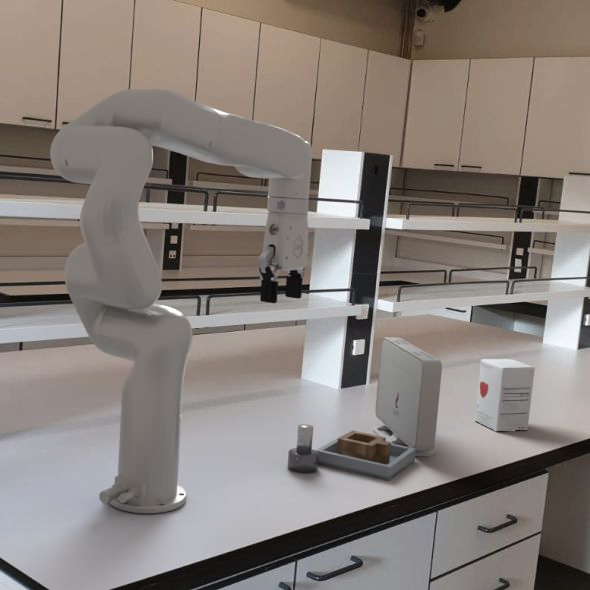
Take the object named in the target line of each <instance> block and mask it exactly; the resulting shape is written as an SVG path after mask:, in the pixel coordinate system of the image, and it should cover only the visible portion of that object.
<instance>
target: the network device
mask: <svg viewBox="0 0 590 590" xmlns="http://www.w3.org/2000/svg"><path fill="white" fill-rule="evenodd" d="M380 343H381V344H380V354H379V363H378V364H379V365H378V377H377V386H376V387H377V388H376V399H375V401H376V402H375V417H376V419H378V420H379V421H380V422H381V423H382V424H383V425H376V426H373V427H372V432H373V434H374V435H377V436H382V437H386V441H388V442H391V444H396V445H407V447H410V448H415V449H416V452H415V457H429V456H430V457H431V456H434V455H436V449H435V443H436V435H437V422H438V412H439V404H440V403H439V401H440V395H441V393H440V392H441V391H440V390H441V383H442V370H443V366H442V362H441V360H440V359H439V358H437V357H435V356H433V355H431V354H429V353H428V352H426V351H424V350H423V349H421V348H419V347H417V346H415V345H413V344H412V343H410V342H408V340H407V341H406V340H405V339H403V338H401V337H385V336H383V337H382V338H381V342H380ZM381 431H391V432H392V435H391V436H388V435H385V434H383V433H382V432H381Z"/></svg>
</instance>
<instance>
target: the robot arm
mask: <svg viewBox="0 0 590 590" xmlns="http://www.w3.org/2000/svg"><path fill="white" fill-rule="evenodd" d="M153 147H157V148H162V149H165V150H168V151H171V152H175V153H179V154H181V155H184V156H188V157H189V158H192V159H195V160H198V161H201V162H203V163H204V162H205V163H207V164H208V163H209V164H215V165H220V166H227V167H228V166H229V167H234V168H235V169H236V170H237V171H238V172H239V173H240V174H242V175H243V176H246V177H248V178H255V179H267V180H268V191H267V192H268V193H267V206H266V207H267V208H266V214H267V219H266V223H265V229H264V230H265V231H264V237H263V245H262V253H261V254H259V256H258V259H257V260H258V266H259V273H260V276H259V279H260V280H261V281H260V282H261V284H260V296H259V297H260V298H259V300H260V302H261V303H262V302H264V303H271V304H276V303H277V302H278V290H279V281H278V280H277V279H278V277H279V274H280V272H281V271H285V272H287V273H288V275H286V279H285V280H286V281H285V297H286V298H290V299H291V298H292V299H301V298H302V293H303V280H304V279H303V278H304V276H305V272H304V271H305V269H306V268H307V266H308V260H309V223H308V213H309V199H310V186H311V173H312V159H313V147H312V145H311V143H310V142H308V141H305V139H303V138H302V137H301V136H299V135H298V134H295V133H294V132H291V131H289V130H286V129H284V128H283V127H278V126H275V125H273V124H268V123H264V122H261V121H256V120H254V119H250V118H245V117H243V116H241V115H240V116H239V115H236V114H232V113H228V112H225V111H220V110H218V109H216V108H213V107H211V106H208V105H206V104H204V103H201V102H199V101H196V100H194V99H192V98H190V97H188V96H185V95H182V94H180V93H177V92H174V91H171V90H167V89H163V88H162V89H159V88H158V89H157V88H156V89H155V88H154V89H153V88H152V89H151V88H150V89H145V88H144V89H142V88H139V89H133V88H132V89H122V90H120V91H116V92H114V93H112V94H111V95H110V96H108V97H106V98H105V99H103V100H101V101H99V102H98V103H96V104H95V105H93V106H92V107H91V108H89V109H88V110H87V111H85V112H83V113H82V114H80V115H79V116H77V117H76V118H75V119H73V120H72V121H70V122H69V123H67V124H66V125H64V126H63V127H61V129H60V130H59V131H58V132H57V133H56V135H55V136H54V138H53V140H52V142H51V145H50V153H49V156H50V162H51V164H52V167H53V170H54V171H55V172H56V173H57V174H58V175H59V177H62V178H63V179H64V180H66V181H69V182H71V183H76V184H83V185H84V184H85V185H90V186H89V187H88V190H87V194H86V195H85V199H84V202H83V204H82V207H81V210H80V215H79V227H80V232H81V236H82V238H83V241H84V242H83V243H81V244H79V245H77V246H76V247H75V248H74V249H73V250H72V251H71V252H70V254H69V255H68V257H67V260H66V262H65V267H64V283H65V287H66V288H65V289H66V290H67V293H68V295H69V298H70V300H71V302H72V305H73V306H74V308H75V310H76V313H77V315H78V316H79V319H80V321H81V324H82V326H83V327H84V329H85V331H86V333H87V335H88V337H89V339H90V340H91V342H92V343H93V345H94V347H96V348H97V349H98V350H99V351H101V352H102V353H104V354H105V355H109V356H113V357H116V358H120V359H124V360H127V361H131V362H133V365H132V369H131V370H130V372H129V374H128V375H127V376H126V379H125V381H124V383H123V386H122V389H121V400H120V421H119V442H118V443H119V445H118V462H117V463H118V464H117V465H118V466H117V475H116V476H114V484H112V486H111V487H109V488H107V489H104V490H102V491H100V492H99V494H98V495H99V497H98V498H99V501H100V502H101V503H102V504H110V506H112V507H114V508H115V509H118V510H121V511H123V512H129V513H134V514H161V513H167V512H170V511H174V510H176V509H178V508H180V507H182V506H184V505H185V503H186V502H187V490H186V489H185V488H183V487H182V486H180V485H178V483H179V482H178V480H179V479H178V478H179V464H180V462H179V461H180V449H181V448H180V446H181V445H180V444H181V443H180V442H181V428H182V427H181V426H182V414H183V412H182V411H183V410H182V409H183V395H184V394H183V392H184V381H185V374H186V369H187V365H188V359H189V356H190V353H191V348H192V345H193V344H192V343H193V329H192V325H191V323H190V321H189V320H188V318H187V317H186V316H185V315H184V314H183V313H182V312H181V311H179V310H177V309H176V308H172V307H170V306H167V305H162V304H157V303H156V302H157V301H158V300H159V298H160V296H161V294H162V289H163V283H162V277H161V276H162V275H161V273H160V269H159V267H158V264H157V261H156V260H155V257H154V254H153V251H152V250H151V248H150V247H151V246H150V244H149V242H148V239H147V236H146V235H145V232H144V229H143V227H142V226H143V225H142V223H141V220H140V215H139V204H140V199H141V196H142V193H143V191H144V187H145V185H146V182H147V180H148V178H149V176H150V174H151V172H152V168H153V164H154V163H153V162H154V153H153Z"/></svg>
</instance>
